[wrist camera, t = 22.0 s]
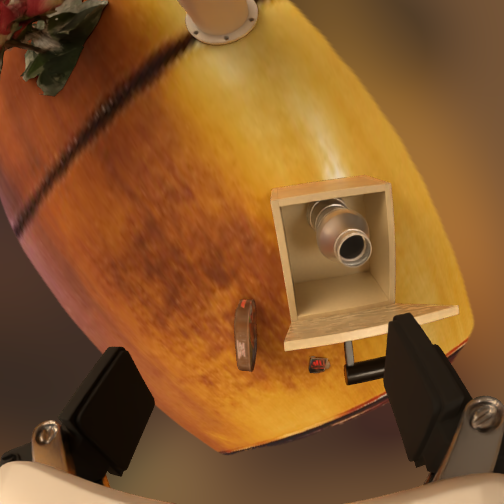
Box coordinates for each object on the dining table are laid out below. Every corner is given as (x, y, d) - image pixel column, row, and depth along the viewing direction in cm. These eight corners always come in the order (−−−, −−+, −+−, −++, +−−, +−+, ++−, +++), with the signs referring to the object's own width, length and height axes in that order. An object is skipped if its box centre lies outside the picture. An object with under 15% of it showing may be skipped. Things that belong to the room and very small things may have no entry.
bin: (271, 188, 47) (270, 200, 35) (364, 174, 44) (391, 182, 33) (288, 286, 52) (291, 323, 41) (372, 272, 50) (395, 304, 39)
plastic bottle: (351, 207, 46) (397, 245, 27) (325, 237, 48) (353, 292, 29) (322, 182, 45) (355, 204, 26) (296, 213, 47) (309, 256, 28)
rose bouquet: (124, -16, 33) (41, -78, 5) (61, 102, 43) (-55, 98, 15) (55, -14, 31) (-20, -45, 3) (7, 85, 41) (-82, 85, 13)
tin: (257, 353, 58) (254, 381, 50) (242, 353, 58) (237, 380, 51) (255, 290, 53) (251, 314, 45) (238, 290, 53) (232, 314, 46)
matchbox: (309, 373, 59) (309, 374, 59) (307, 357, 57) (307, 358, 57) (330, 369, 58) (330, 371, 58) (328, 353, 57) (328, 354, 56)
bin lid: (283, 341, 22) (291, 402, 21) (458, 305, 20) (461, 362, 19) (291, 322, 41) (295, 357, 40) (395, 303, 38) (399, 338, 37)
